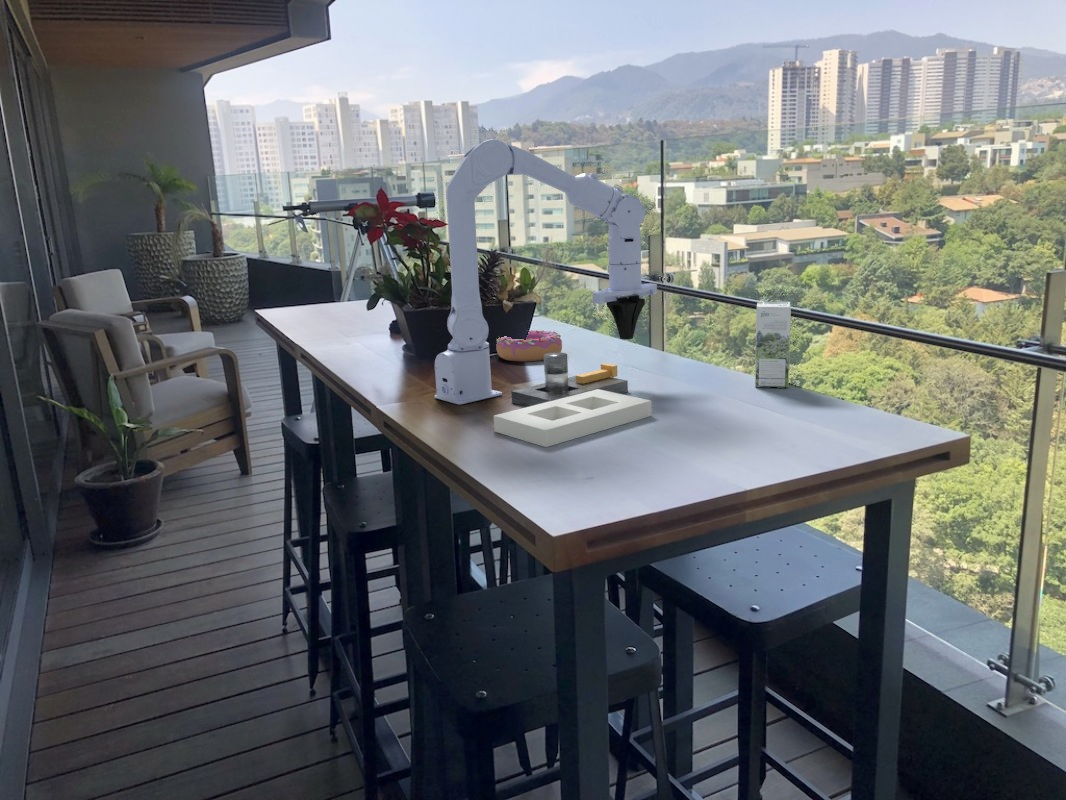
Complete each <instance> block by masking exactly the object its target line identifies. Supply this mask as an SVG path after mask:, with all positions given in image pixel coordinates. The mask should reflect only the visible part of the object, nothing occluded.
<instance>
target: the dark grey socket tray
mask: <svg viewBox="0 0 1066 800" xmlns="http://www.w3.org/2000/svg"><path fill="white" fill-rule="evenodd" d="M628 382H629V381H628V380H627V379H621V378H617V377H608V378H604V379H600V380H596V381H592V382H588V383H584V384H582V383H577V382H576V375H574V376H568V388H569V391H567V392H563V393H559V394H551V393H547V392H545V382H543V383H540V384H536V385H531V386H528V387H523V388H519V389H514V390H511V403H513V404H516V405H521V406H524V407H530V406H533V405H537V404H541V403H545V402H549V401H553V400H557V399H561V398H565V397H569V396H573V395H577V394H581V393H585V392H588V391H592V390H596V389H600V390H604V391H609V392H614V393H618V394H624V393H628V392H629V387H628V385H629V383H628Z"/></svg>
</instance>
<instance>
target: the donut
mask: <svg viewBox="0 0 1066 800" xmlns="http://www.w3.org/2000/svg"><path fill="white" fill-rule="evenodd" d="M528 331H529V332H528V335H527V337H526V340H524V339H512V338H511V337H507V336H504V337H501V338H500V337H499V336H498V337H499V338H498V339H497V338H496V343H497V344H495V346H496V349H495V350H496V352H497V355H498V356H499V357H500V358H501V359H503V360H506V361H509V362H510V361H511V362H525V363H526V362H540V361H544V354H547V353H562V349H563V341H562V339H561V337H562V335H561V334H559V333H558V332H556V331H551V330H535V329H533V330H531V329H530V330H528Z"/></svg>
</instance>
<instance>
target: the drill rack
mask: <svg viewBox="0 0 1066 800" xmlns="http://www.w3.org/2000/svg"><path fill="white" fill-rule="evenodd" d="M649 417H652V400H649V399H645V398H640V397H636V396H632V395H628V394H627V395H626V394H624V393H621V394H618V393H614V392H609V391H604V390H600V389H596V390H592V391H588V392H585V393H581V394H577V395H573V396H569V397H565V398H561V399H557V400H553V401H549V402H545V403H541V404H537V405H533V406H530V407H528V406H525V407H523V408H518V409H514V410H510V411H506V412H503V413H498V414H495V415H493V428H494V430H493V431H494V432H495V433H499V434H501V435H505V436H508V437H512V438H515V439H517V440H521V441H524V442H528V443H531V444H533V445H537V446H541V447H544V448H547V447H550V446H555V445H557V444H561V443H565V442H568V441H571V440H576V439H578V438H582V437H584V436H585V437H586V436H588V435H592V434H594V433H599V432H601V431H605V430H608V429H609V430H610V429H612V428H615V427H619V426H622V425H624V424H625V425H626V424H628V423H632V422H635V421H639V420H642V419H645V418H649Z"/></svg>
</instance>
